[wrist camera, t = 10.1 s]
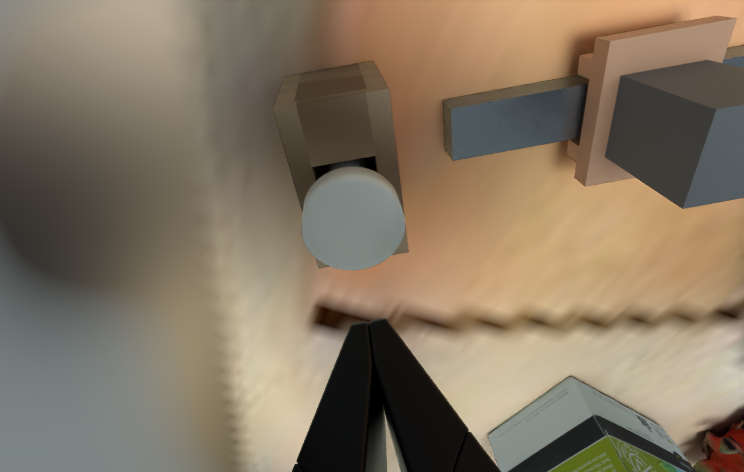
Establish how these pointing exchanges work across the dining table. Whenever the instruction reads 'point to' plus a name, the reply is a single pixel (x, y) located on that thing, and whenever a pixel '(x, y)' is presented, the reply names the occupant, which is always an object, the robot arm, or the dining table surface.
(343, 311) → the dining table surface
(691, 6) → the dining table surface
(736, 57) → the rail
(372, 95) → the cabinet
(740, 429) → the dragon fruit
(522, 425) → the tea box
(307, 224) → the round gray button
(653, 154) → the carriage
